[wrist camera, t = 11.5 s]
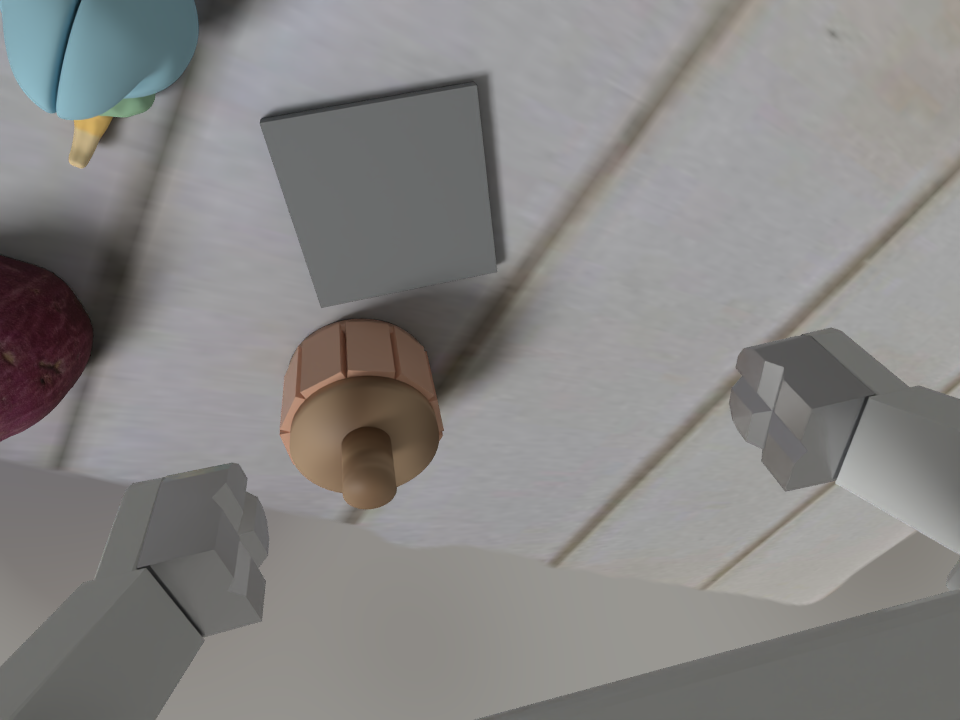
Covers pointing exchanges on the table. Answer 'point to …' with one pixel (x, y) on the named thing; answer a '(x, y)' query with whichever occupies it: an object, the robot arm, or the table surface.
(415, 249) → the mat
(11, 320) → the vegetable
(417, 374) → the faceted hollow tube
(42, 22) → the toy flower bud
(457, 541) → the table surface
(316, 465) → the lid
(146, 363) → the table surface
